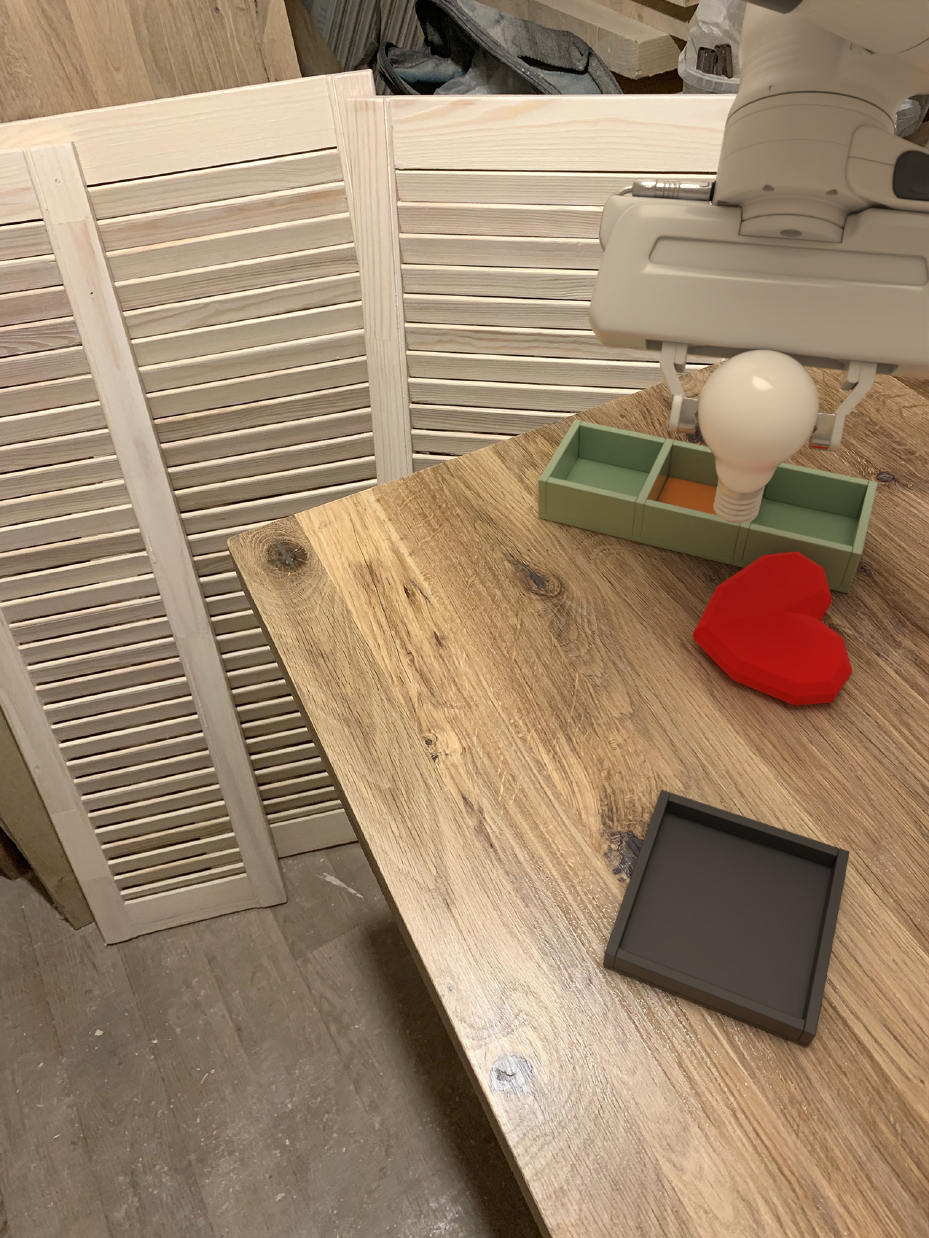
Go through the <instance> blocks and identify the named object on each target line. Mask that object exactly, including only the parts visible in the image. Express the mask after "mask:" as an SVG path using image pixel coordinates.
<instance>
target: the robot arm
mask: <svg viewBox="0 0 929 1238" xmlns="http://www.w3.org/2000/svg"><path fill="white" fill-rule="evenodd" d="M741 1H742V2H745V3H746V5H745V11H744V16H743V20H742V26H741V31H740V37H739V43H738V64H739V74H740V75H739V76H740V77H739V79H740V80H739V85H738V90H737V93H736V96H735V98H734V100H733V102H732V105H731V107H730V108H729V111H728V114H727V117H726V120H725V125H724V130H723V136H722V141H721V147H720V153H719V158H718V165H717V170H716V176H715V177H716V178H715V180H714V181H704V180H703V181H698V180H676V181H675V180H674V181H673V180H672V181H668V180H667V181H665V180H659V179H658V178H657V179H656V178H650V177H644V178H642V177H641V178H636V179H634V180H633V182H632V184H629V185H625V186H622V187H620V188H618V189H617V190H615V191H614V192H613V193H612V194H611V195H610V196H609V197H608V198H607V200H606V201H605V203H604V206H603V208H602V212H601V219H600V224H599V231H598V241H599V246H600V248H601V250H602V252H603V254H602V257H601V260H600V263H599V267H598V271H597V273H596V277H595V281H594V286H593V289H592V294H591V299H590V304H589V309H588V322H589V327H590V328H591V331H592V332H593V335H595V337H596V338H597V340H598V341H599V342H600V344H601V345H602V346H603V345H604V347H611V348H621V349H630V350H639V351H650V352H658V353H659V352H660V356H659V372H660V374H661V376H662V379H663V382H664V384H665V387H666V390H667V392H668V394H669V397H670V400H671V402H672V404H671V410H670V416H669V421H668V432H669V433H677V434H686V435H695V434H696V433H695V432H696V428H697V427H696V426H697V418H698V403H699V398H695V397H688V396H686V394H685V391H684V388H683V385H682V383H681V380H680V378H679V375H678V373H680V374H683V373H685V371H686V365H687V360H688V355H689V356H696V357H697V356H698V357H705V358H706V357H707V358H716V359H717V358H718V359H724V360H725V359H726V360H728V359H730V358H731V357H733V356H735V355H738V354H740V353H743V352H747V351H751V350H773V351H778V352H781V353H784V354H786V355H788V356H790V357H792V358H794V359H795V360H797V361H798V362H799V363H800V364H802V365H803V366H804V367H805V368H811V369H812V368H813V369H821V370H822V369H823V370H832V371H842V372H843V373H842V378H841V384H840V389H841V390H842V391H847V392H849V391H850V393H849V394H847V396H846V397H845V398H844V400H843V401H842V402H841V403H840V405H839V406H838V407H837V408H836V409H835V410H834V412H833V413H826V412H818V418H817V422H816V425H815V428H814V430H813V432H812V434H811V436H810V437H809V439H808V446H807V448H808V449H810V450H816V451H824V452H832V453H836V452H838V450H839V448H840V446H841V442H842V437H843V432H844V427H845V422H846V419H847V418H848V416H850V414H851V413H852V412H853V410H855V408H856V407H857V406H858V405H859V404H860V402H861V401H862V400H863V399H864V397H865V396H866V395H867V394H868V393H869V392H870V390H871V389H872V388H873V387H874V385H875V381H876V375H879V376H881V375H882V376H889V377H898V378H899V377H900V378H909V379H919V380H928V381H929V149H928V148H926V147H923V146H921V145H919V144H916V143H914V142H911V141H909V140H907V139H904V138H902V137H900V136H898V135H896V134H895V129H896V117H897V113H898V110H899V108H900V107H901V105H902V104H903V103H904V102H905V101H906V100H907V99H909V98H912V97H913V96H918V97H929V0H741ZM628 194H631V195H628Z"/></svg>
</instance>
